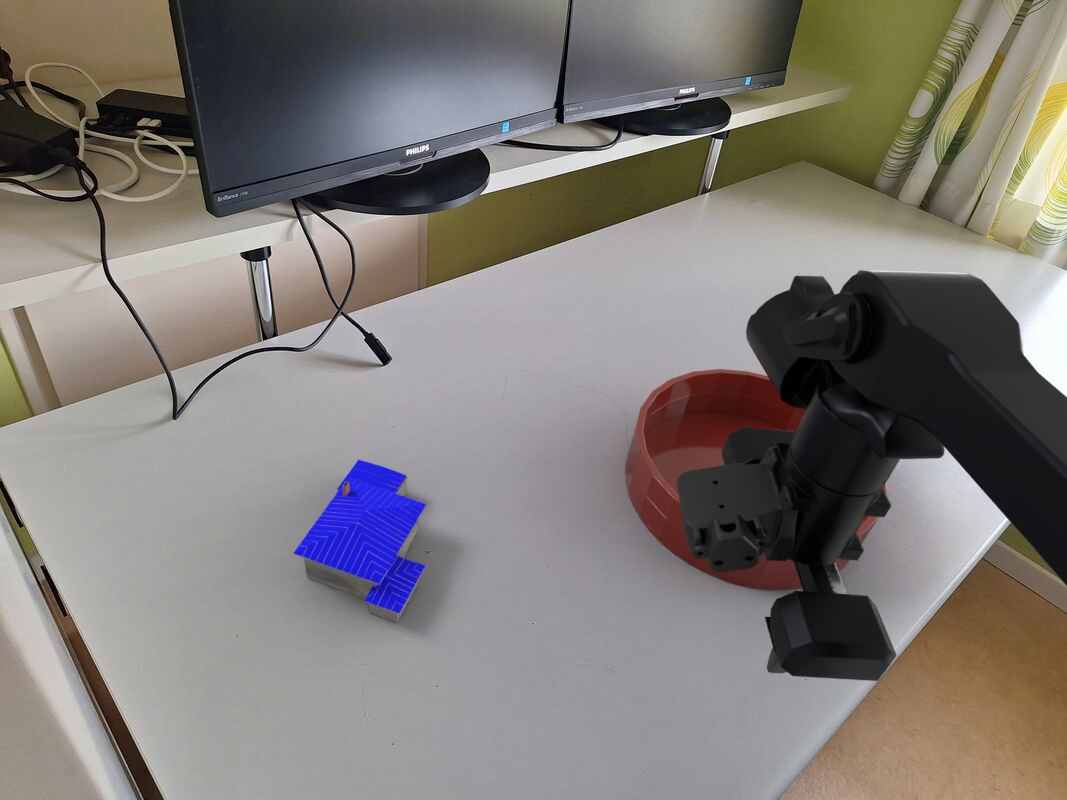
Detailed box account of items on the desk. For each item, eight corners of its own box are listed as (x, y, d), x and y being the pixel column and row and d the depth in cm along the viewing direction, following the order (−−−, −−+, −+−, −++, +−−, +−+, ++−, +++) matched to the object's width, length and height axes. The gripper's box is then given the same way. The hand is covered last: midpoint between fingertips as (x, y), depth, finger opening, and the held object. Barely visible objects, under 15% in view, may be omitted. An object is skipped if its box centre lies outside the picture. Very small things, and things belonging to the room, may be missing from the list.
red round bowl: (910, 534, 80) (938, 493, 76) (733, 631, 69) (755, 589, 64) (746, 389, 96) (762, 348, 91) (579, 448, 84) (589, 405, 80)
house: (462, 511, 75) (465, 472, 72) (399, 628, 65) (399, 590, 61) (359, 476, 77) (357, 437, 74) (282, 585, 67) (275, 546, 63)
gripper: (681, 354, 52) (635, 508, 62) (739, 582, 37) (668, 733, 48) (838, 368, 53) (768, 517, 63) (954, 596, 38) (839, 741, 48)
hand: (758, 612), depth 55 cm, fingers open, 9 cm apart
